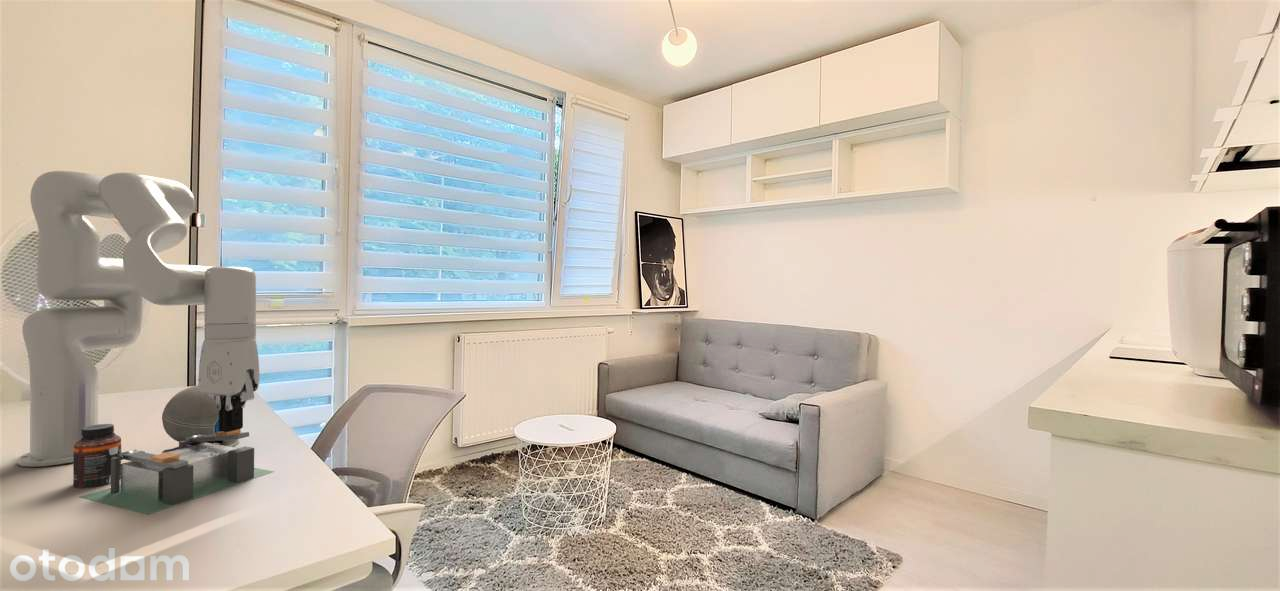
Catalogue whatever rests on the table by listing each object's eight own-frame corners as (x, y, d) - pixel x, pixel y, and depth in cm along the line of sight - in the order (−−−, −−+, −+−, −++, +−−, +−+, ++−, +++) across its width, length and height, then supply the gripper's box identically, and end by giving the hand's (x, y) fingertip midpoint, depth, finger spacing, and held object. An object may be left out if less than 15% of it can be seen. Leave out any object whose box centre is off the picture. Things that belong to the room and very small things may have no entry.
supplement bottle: (127, 485, 94) (128, 424, 93) (81, 497, 88) (82, 432, 88) (112, 479, 96) (112, 420, 96) (66, 491, 91) (67, 428, 91)
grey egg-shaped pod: (200, 442, 119) (201, 378, 119) (254, 444, 118) (255, 380, 118) (145, 461, 106) (145, 390, 106) (204, 464, 106) (205, 392, 105)
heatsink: (120, 492, 88) (120, 463, 88) (205, 467, 100) (205, 442, 100) (158, 501, 85) (158, 471, 85) (240, 474, 97) (241, 448, 97)
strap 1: (117, 459, 89) (117, 450, 89) (134, 455, 91) (134, 446, 91) (172, 471, 84) (172, 461, 84) (189, 466, 86) (189, 456, 86)
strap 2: (184, 443, 98) (183, 435, 98) (198, 440, 100) (197, 431, 100) (236, 440, 93) (235, 431, 94) (250, 437, 96) (249, 428, 96)
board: (78, 503, 86) (79, 461, 86) (211, 465, 105) (211, 430, 105) (147, 521, 80) (148, 476, 80) (274, 477, 99) (274, 440, 99)
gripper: (180, 332, 94) (181, 431, 94) (237, 335, 89) (237, 439, 90) (224, 329, 101) (225, 421, 102) (279, 332, 97) (279, 428, 97)
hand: (230, 429), depth 96 cm, fingers closed
